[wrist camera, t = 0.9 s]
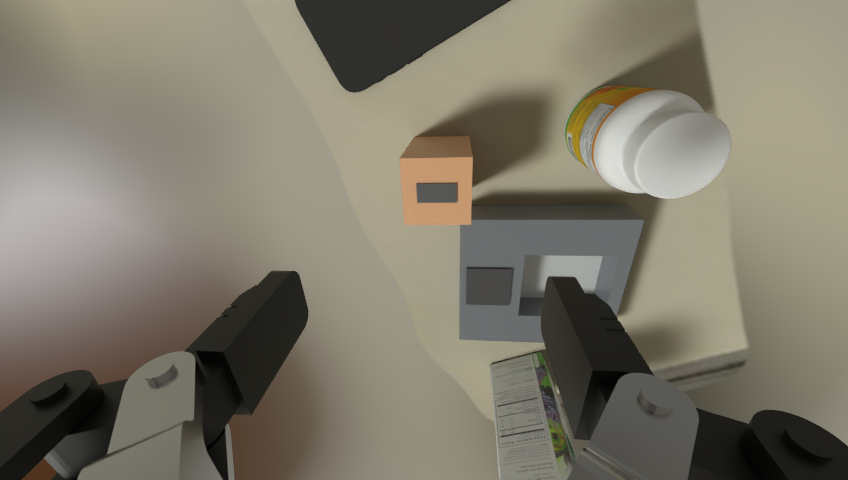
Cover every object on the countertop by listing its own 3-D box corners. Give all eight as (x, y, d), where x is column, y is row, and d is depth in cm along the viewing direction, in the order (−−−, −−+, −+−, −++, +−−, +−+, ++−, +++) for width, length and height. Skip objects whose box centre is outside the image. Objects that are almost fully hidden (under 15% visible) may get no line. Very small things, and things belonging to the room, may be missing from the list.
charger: (414, 137, 25) (399, 158, 19) (469, 135, 25) (472, 157, 18) (416, 189, 27) (404, 225, 21) (468, 188, 27) (471, 225, 20)
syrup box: (556, 386, 36) (610, 561, 23) (504, 397, 37) (527, 567, 25) (540, 349, 34) (590, 521, 21) (486, 363, 35) (501, 530, 22)
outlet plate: (460, 205, 27) (460, 220, 24) (625, 204, 26) (646, 221, 23) (459, 317, 33) (459, 341, 30) (595, 321, 31) (609, 346, 29)
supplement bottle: (659, 100, 22) (783, 118, 14) (614, 173, 25) (695, 227, 16) (586, 73, 22) (667, 75, 14) (548, 149, 25) (596, 192, 16)
